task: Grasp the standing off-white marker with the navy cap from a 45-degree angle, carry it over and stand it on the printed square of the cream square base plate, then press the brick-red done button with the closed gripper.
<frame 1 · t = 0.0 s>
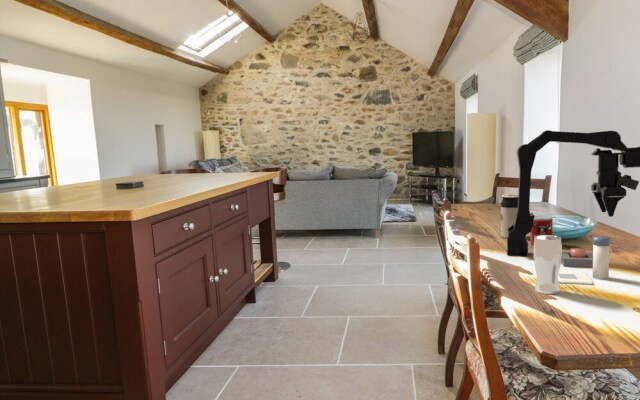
hand: (607, 214, 151), 15 cm above the table, tool pointing down, fingers open, 9 cm apart
button housing: (578, 262, 147), on the table
canned food: (541, 245, 174), on the table
done button: (578, 254, 147), point 3 cm above the table, slide at 0.0 cm
cream square base plate: (567, 278, 132), on the table
travel mug: (511, 237, 191), on the table
marker: (600, 277, 131), on the table
beer glass: (547, 291, 123), on the table
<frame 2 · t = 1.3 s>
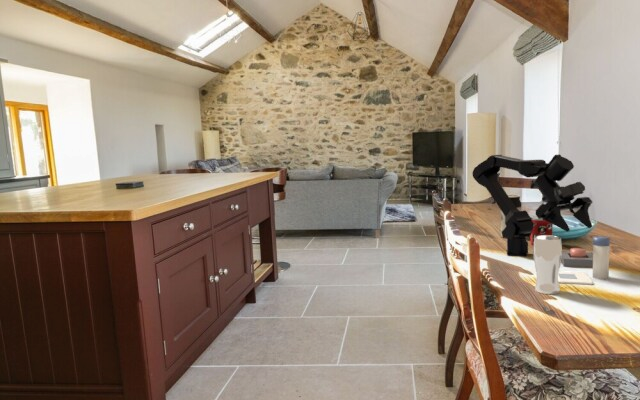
hand: (579, 229, 137), 13 cm above the table, tool tilted 45°, fingers open, 9 cm apart
nothing on the table moved.
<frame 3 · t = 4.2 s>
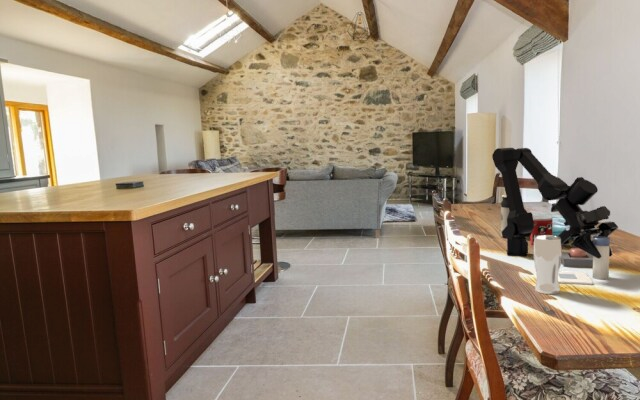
hand: (605, 256, 129), 7 cm above the table, tool tilted 45°, fingers closed on marker, 4 cm apart
marker: (600, 277, 131), on the table, touching gripper
everything else where it was.
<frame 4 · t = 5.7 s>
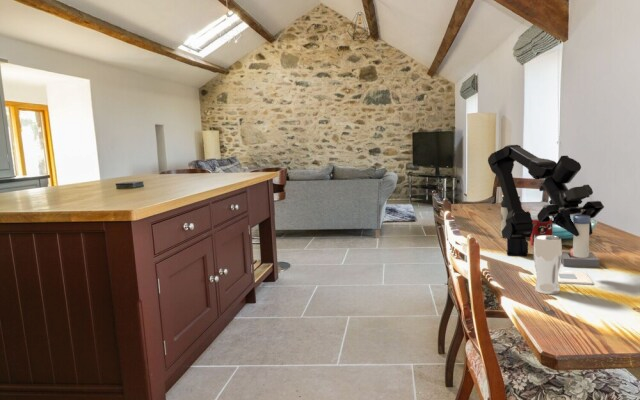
hand: (584, 234, 129), 13 cm above the table, tool tilted 45°, fingers closed on marker, 4 cm apart
marker: (580, 255, 131), point 7 cm above the table, touching gripper
everything else where it was.
when the fingers open (8 cm above the table, at t = 7.4 s): marker drops 1 cm, resting on cream square base plate.
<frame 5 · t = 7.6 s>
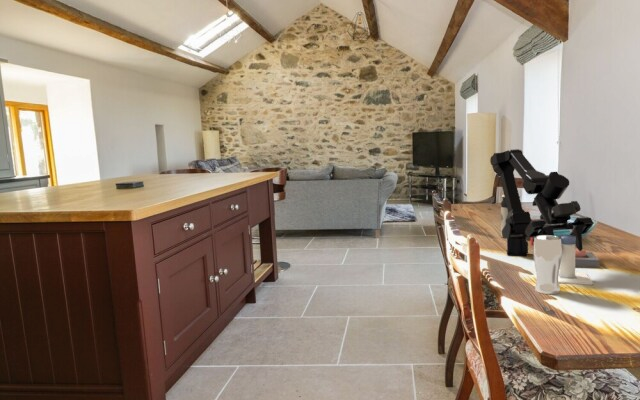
hand: (570, 251, 130), 9 cm above the table, tool tilted 45°, fingers open, 6 cm apart
marker: (567, 275, 132), point 1 cm above the table, touching cream square base plate
everything else where it was.
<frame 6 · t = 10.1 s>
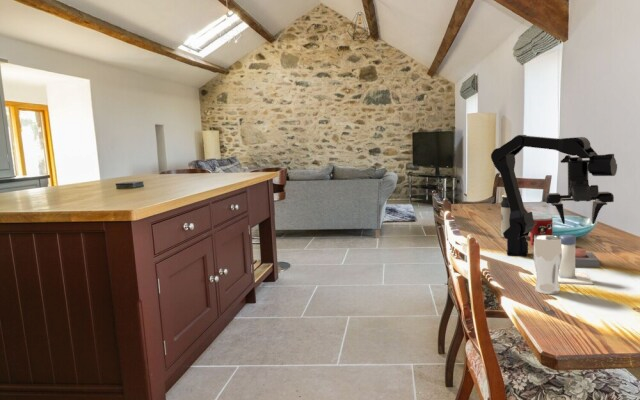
hand: (578, 223, 145), 13 cm above the table, tool pointing down, fingers open, 8 cm apart
nothing on the table moved.
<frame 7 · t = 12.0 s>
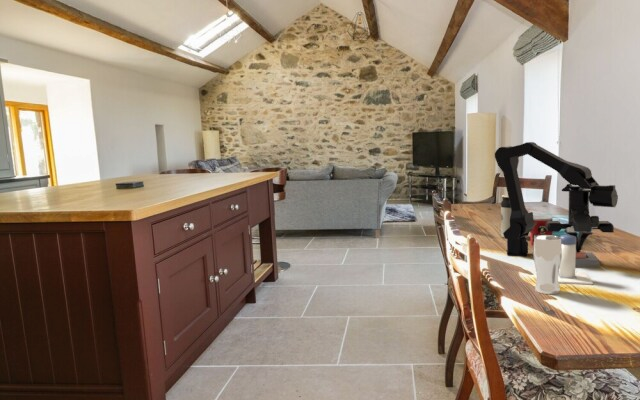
hand: (577, 252, 147), 4 cm above the table, tool pointing down, fingers closed, pressing on done button
done button: (578, 256, 147), point 2 cm above the table, slide at 0.8 cm, touching gripper
everything else where it was.
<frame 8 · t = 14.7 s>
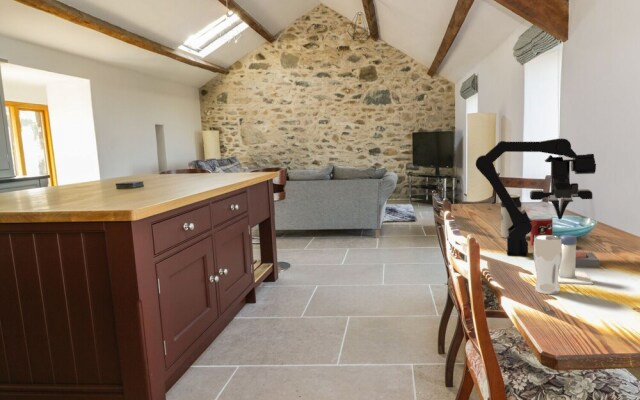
hand: (559, 219, 156), 13 cm above the table, tool pointing down, fingers closed
done button: (578, 256, 147), point 2 cm above the table, slide at 0.9 cm
everything else where it was.
at the end: marker inside the target area on the cream square base plate (0.0 cm from its centre), point 0.6 cm above the cream square base plate's base; marker tilted 1°; done button slide at 0.9 cm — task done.
